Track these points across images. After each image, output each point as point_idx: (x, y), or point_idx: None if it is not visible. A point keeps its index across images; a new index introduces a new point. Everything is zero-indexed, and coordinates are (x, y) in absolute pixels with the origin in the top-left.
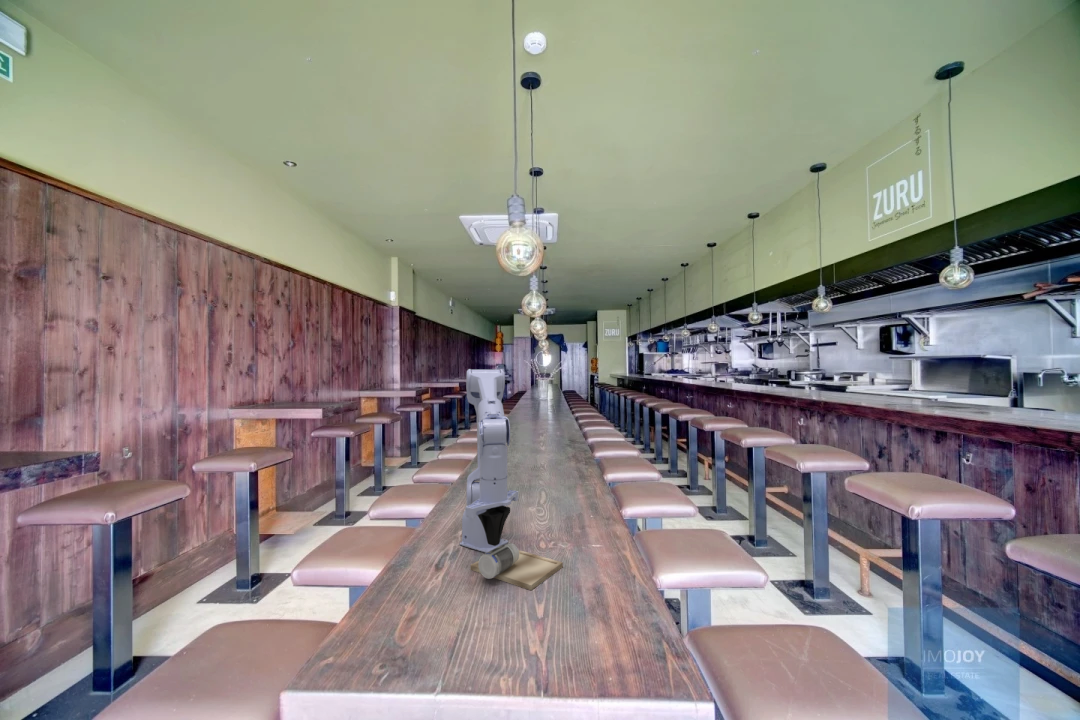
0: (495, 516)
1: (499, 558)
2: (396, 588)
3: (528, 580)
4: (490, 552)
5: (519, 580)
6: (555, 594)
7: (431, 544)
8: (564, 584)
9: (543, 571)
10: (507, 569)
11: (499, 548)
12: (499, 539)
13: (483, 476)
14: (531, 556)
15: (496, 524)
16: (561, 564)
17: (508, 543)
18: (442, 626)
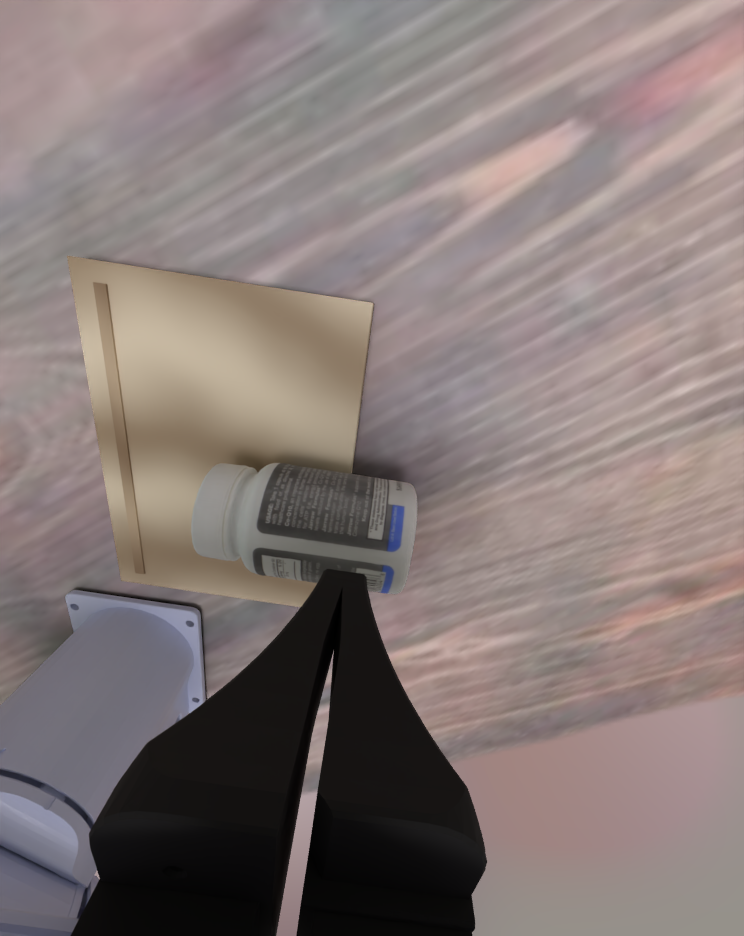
0: (475, 825)
1: (369, 510)
2: (531, 705)
3: (336, 339)
4: (370, 571)
5: (356, 379)
6: (353, 159)
7: None
8: (238, 158)
9: (218, 310)
10: None
11: (303, 555)
12: (330, 584)
13: None
14: (126, 439)
15: (392, 700)
16: (85, 259)
17: (199, 550)
18: (717, 485)
